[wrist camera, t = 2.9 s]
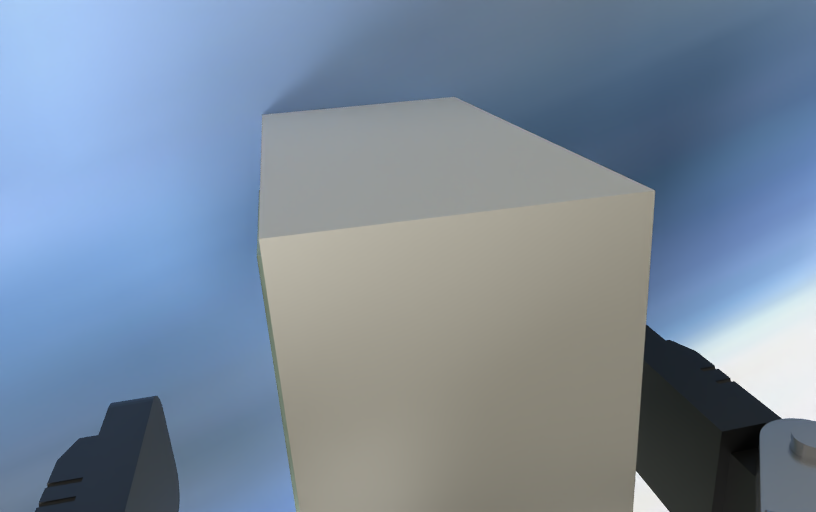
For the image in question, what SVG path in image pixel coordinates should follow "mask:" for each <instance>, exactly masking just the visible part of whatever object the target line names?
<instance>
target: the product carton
mask: <svg viewBox="0 0 816 512" xmlns="http://www.w3.org/2000/svg"><path fill="white" fill-rule="evenodd" d="M654 200H655V190H653V189H651V188H649V187H647V186H644V185H642V184H640V183H638V182H636V181H634V180H632V179H629V178H627V177H625V176H623V175H621V174H619V173H617V172H614V171H612V170H610V169H608V168H606V167H604V166H602V165H599V164H597V163H595V162H593V161H591V160H589V159H587V158H584V157H582V156H580V155H578V154H576V153H574V152H572V151H569V150H567V149H565V148H563V147H561V146H559V145H557V144H554V143H552V142H550V141H548V140H546V139H544V138H542V137H539V136H537V135H535V134H533V133H531V132H529V131H527V130H525V129H522V128H520V127H518V126H516V125H514V124H512V123H510V122H507V121H505V120H503V119H501V118H499V117H497V116H495V115H492V114H490V113H488V112H486V111H484V110H482V109H480V108H477V107H475V106H473V105H471V104H469V103H467V102H465V101H462V100H460V99H458V98H456V97H446V98H436V99H425V100H414V101H404V102H393V103H382V104H371V105H361V106H350V107H339V108H328V109H318V110H307V111H296V112H286V113H275V114H264V115H262V139H261V174H260V190H259V207H258V237H257V260H258V267H259V273H260V280H261V286H262V292H263V299H264V305H265V312H266V318H267V325H268V331H269V338H270V344H271V351H272V357H273V364H274V370H275V377H276V383H277V390H278V396H279V403H280V409H281V416H282V422H283V429H284V435H285V442H286V448H287V455H288V461H289V468H290V474H291V481H292V487H293V494H294V500H295V507H296V512H633V502H634V488H635V473H636V459H637V445H638V430H639V416H640V402H641V387H642V373H643V359H644V344H645V330H646V315H647V301H648V287H649V272H650V258H651V244H652V229H653V215H654Z"/></svg>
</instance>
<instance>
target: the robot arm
mask: <svg viewBox="0 0 816 512" xmlns="http://www.w3.org/2000/svg"><path fill="white" fill-rule="evenodd" d="M636 471H637V472H638V474H639V475H640V476H641V477H642V478H643V480H644V481H645V482H646V483H647V485H648V486H649V487H650V488H651V489H652V491H653V492H654V493H655V494H656V496H657V497H658V498H659V499H660V500H661V502H662V503H663V504H664V505H665V507H666V508H667V509H668V510H669V511H670V512H816V421H811V420H806V419H795V418H788V419H782V418H780V417H779V416H778V415H776V414H775V413H774V412H773V411H771V410H770V409H769V408H768V407H766V406H765V405H764V404H762V403H761V402H760V401H759V400H757V399H756V398H755V397H754V396H752V395H751V394H750V393H748V392H747V391H746V390H745V389H743V388H742V387H741V386H740V385H738V384H737V383H736V382H734V381H733V382H731V380H730V378H729V377H728V376H727V375H726V374H724V373H723V372H722V371H720V370H719V369H715V366H714V365H713V364H712V363H710V362H709V361H708V360H707V359H705V358H704V357H703V356H701V355H700V354H699V353H698V352H696V351H694V350H692V349H690V348H687V347H685V346H683V345H680V344H678V343H676V342H673V341H671V340H667V341H666V340H664V339H663V338H662V337H661V336H660V335H658V334H657V333H656V332H655V331H653V330H652V329H651V328H650V327H649V326H647V325H646V330H645V344H644V359H643V373H642V387H641V402H640V416H639V430H638V445H637V459H636ZM47 485H48V487H47V488H45V490H44V492H43V494H42V497H41V499H40V501H39V508H36V511H35V512H178V511H179V481H178V474H177V469H176V464H175V460H174V455H173V451H172V447H171V442H170V438H169V433H168V429H167V425H166V420H165V416H164V412H163V407H162V404H161V401H160V399H159V397H158V396H152V397H146V398H140V399H134V400H128V401H121V402H115V403H111V404H110V405H109V408H108V410H107V413H106V416H105V419H104V421H103V424H102V427H101V430H100V432H99V435H96V436H91V437H85V438H79V439H78V440H77V441H76V442H75V443H74V444H73V445H72V446H71V447H70V448H69V449H68V450H67V451H66V452H65V453H64V454H63V455H62V456H61V457H60V458H59V459H58V460H57V462H56V464H55V467H54V469H53V471H52V474H51V476H50V478H49V481H48V483H47Z"/></svg>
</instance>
